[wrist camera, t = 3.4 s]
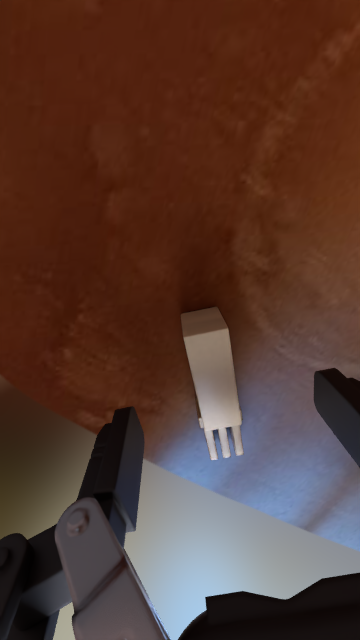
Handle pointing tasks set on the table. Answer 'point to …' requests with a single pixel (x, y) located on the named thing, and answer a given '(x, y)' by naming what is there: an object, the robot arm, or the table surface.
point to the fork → (213, 378)
